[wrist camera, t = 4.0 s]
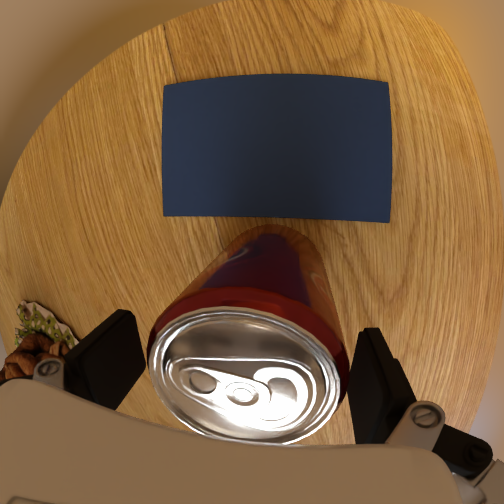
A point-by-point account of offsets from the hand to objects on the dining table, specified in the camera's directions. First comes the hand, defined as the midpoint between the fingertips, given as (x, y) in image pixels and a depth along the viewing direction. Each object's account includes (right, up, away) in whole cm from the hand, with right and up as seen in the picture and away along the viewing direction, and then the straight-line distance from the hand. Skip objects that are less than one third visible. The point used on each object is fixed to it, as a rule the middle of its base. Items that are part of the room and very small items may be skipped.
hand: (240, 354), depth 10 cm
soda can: (+2, +3, +9) cm, 10 cm away
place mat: (+2, +11, +7) cm, 13 cm away
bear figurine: (-25, -9, +17) cm, 31 cm away
